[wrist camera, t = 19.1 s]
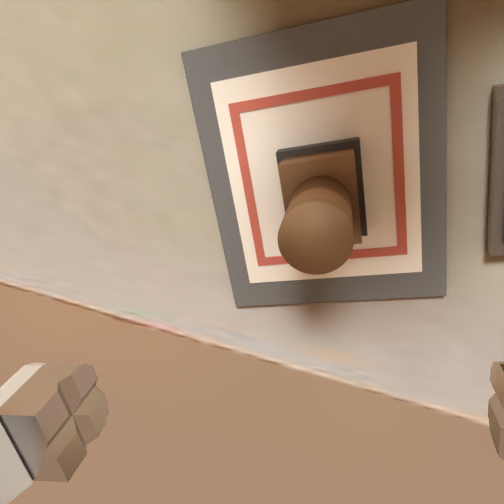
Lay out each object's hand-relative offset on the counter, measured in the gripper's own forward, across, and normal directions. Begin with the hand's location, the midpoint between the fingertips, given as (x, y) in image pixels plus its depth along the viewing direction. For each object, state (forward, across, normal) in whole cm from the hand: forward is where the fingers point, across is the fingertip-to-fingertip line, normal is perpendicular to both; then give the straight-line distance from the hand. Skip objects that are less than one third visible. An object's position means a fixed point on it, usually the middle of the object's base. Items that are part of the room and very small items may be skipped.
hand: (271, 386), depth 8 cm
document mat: (+20, 0, +1) cm, 20 cm away
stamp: (+20, 0, +1) cm, 20 cm away
